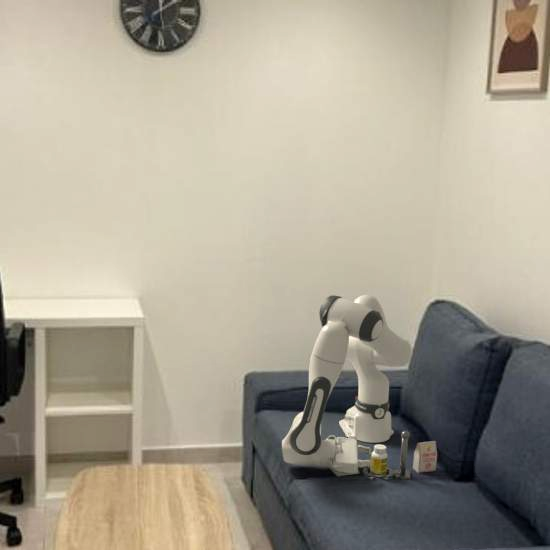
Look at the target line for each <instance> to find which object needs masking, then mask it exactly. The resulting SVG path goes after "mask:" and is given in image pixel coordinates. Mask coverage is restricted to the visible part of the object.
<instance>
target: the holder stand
mask: <svg viewBox="0 0 550 550" xmlns="http://www.w3.org/2000/svg"><path fill="white" fill-rule="evenodd" d="M400 435H401V436H400V437H401V446H400V447H401V448H400V457H399V458H400V459H399V460H400V461H399V469H394V470H393V469H392V468H391V467H389V466H387V470H386V473H387V474H386V475H385V476H383V477H382V479H383V478H391V479H397V478H404V479H403V480H411V472H410V470H407V457H408V444H409V438H410V432H409V431H408V430H403V431H402V432H401V433H400ZM368 470H369V471H370V466H365V467H362V474H363V477H365V476H367V477H375V478H376V476H374V475H372V474H370V472H369V471H368ZM367 477H366V478H367Z"/></svg>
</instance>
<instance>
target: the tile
mask: <svg viewBox="0 0 550 550" xmlns="http://www.w3.org/2000/svg"><path fill="white" fill-rule="evenodd" d="M329 470H331V471H332V472H333V474H334V475H336V476H337V477H343V476H349V475H357V474H360V471H359V470H358V472H357V473H346V472H340V471H337V470H335V469H334V468H329Z"/></svg>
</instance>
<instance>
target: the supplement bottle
mask: <svg viewBox="0 0 550 550" xmlns="http://www.w3.org/2000/svg"><path fill="white" fill-rule="evenodd" d="M388 457H389V455H388V453H387V446H386V445H384V444H380V443H379V444H375V445H374V446H373V451H371V453H370V459H371V460H372V466H370V470H369V473H370V474H372V475H374V476H375V478H383V476H385V475H387V472H386V470H387V467H388V459H389V458H388Z"/></svg>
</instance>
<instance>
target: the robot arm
mask: <svg viewBox="0 0 550 550" xmlns="http://www.w3.org/2000/svg"><path fill="white" fill-rule="evenodd" d="M382 307H383V306H381V304H380V302H379V300H378V299H377V298H376V297H375V296H373V295H371V294H363V295H360V296H358V297H357V298H356V299H355V300H354V301H352V300H350V299H347V298H343V297H342V296H338V295H329V296H327V297H326V298H325V299H323V302H322V303H321V305H320V308H319V320H320V322H321V327H322V328H321V329H320V331H319V334H318V335H317V338H316V339H315V342H314V345H313V347H312V352H311V355H310V359H309V364H308V365H309V366H308V393H307V399H306V403H305V406H304V409H303V411H300V412H299V413H298V414H296V416H295V417H294V419H293V422H292V425H291V427H290V429H289V431H288V433H287V434H286V436H285V437H284V438H283V439H282V441H281V445H280V447H281V449H280V450H281V457H282V459H283V461H284V462H285V463H287V464H290V465H295V466H301V467H302V466H306V467H310V466H316V467H319V468H329V467H330V468H334V469H335V470H337V471H340V472H346V473H357V472H358V471H359V468H364V467H366V466H372V460H371V458H369V459H368V458H366V459H365V460H364V459H363V460H362V459H359V458H358V457H359V454H358V453H365V455H371V454H372V448H371V447H368V446H364V445H361V444H358V441H360V442H364V443H371V444H372V443H384V442H386V441H388V440H390V438H391V436H392V435H394V433H395V432H394V430H393V429H392V414H391V412H390V411H389V409H390V400H389V393H390V392H389V391H390V381H389V379H388V377H387V376H386V375H385V374H384V373H383V372H382V371H381V370H379V368H378V367H377V366H376V365H378V366H383V367H384V366H385V367H390V368H393V367H394V368H395V367H396V368H397V367H398V368H399V367H405V366H407V365H408V364H409V362H410V361H411V359H412V355H413V349H412V346H411V344H410V343H409V341H408V340H407V339H404V338H403V337H401V336H400V335H397V334H396V332H394V331H393V330H392V329H391V328H390V327H389V326H388V324H387V321H386V320H387V319H386V316H385V313H384V310H383V308H382ZM346 359H347V360H348V361H349V362H350V363H351V364H352V366H353V367H354V370H355V371H356V375H357V378H358V379H357V381H358V382H357V383H358V395H356V396H355V404H354V406H352V407H350V408H348V409H347V410H346V413H345V415H344V418H343V419H341V420H339V426H340V428H341V429H342V431H343V433H344V435H345V437H344V436H337V437H336V435H329V436H328V437H326V439H324V440H323V439H322V420H323V416H324V413H325V410H326V406H327V404H328V403H327V402H328V399H329V398H330V395H331V393H332V391H333V389H334V387H335V385H336V383H337V381H338V379H339V378H340V377H339V376H340V374H341V373H342V370H343V368H344V364H345V363H346ZM347 437H348V438H347ZM330 468H329V469H330Z"/></svg>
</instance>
